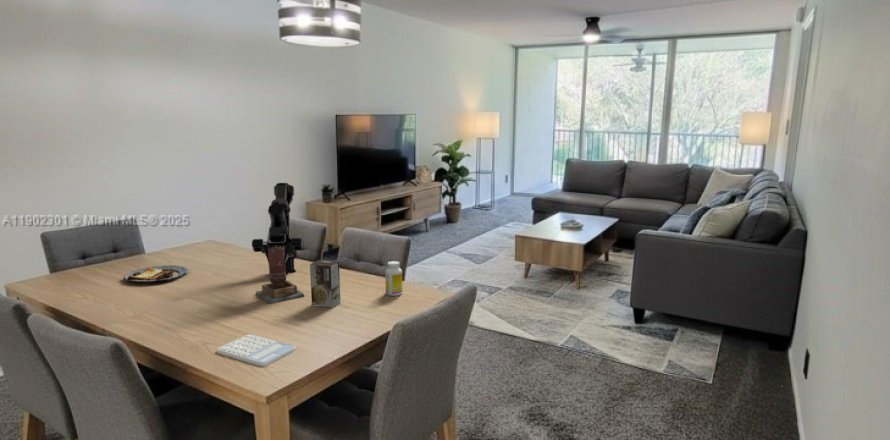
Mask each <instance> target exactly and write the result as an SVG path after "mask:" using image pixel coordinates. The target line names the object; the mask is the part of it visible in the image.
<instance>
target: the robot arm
mask: <svg viewBox="0 0 890 440" xmlns="http://www.w3.org/2000/svg"><path fill="white" fill-rule="evenodd" d="M273 195H274V197H275V198H274V199H273V200H272V201H271V203H270V205H269V207H268V209H267V210H268V211H267V212H268V215H269V218H270V223H271V226H270V227H269V229H268V230H269V232H268V233H269V235H268V239H269V241H267V240H265V241H264V238H253V239H252V240H251V246H252V251H253V252H254V253H260V252H261V253H262V254H264V256H265V257H266V259H267V263H268V264H269V257H268V249H269V247H270V246H275V245H281V246H284V248H285V260H284V264H285V265H286V274H289V273H294V272H297V270H296V269H295V259H297V258H298V254H297V253H298V252H297V251H303V249H304V248H303V247H304V246H303V238H302V237H291V236H290V235H291V232H290V231H291V230H290V227H291V226H290V224H291V223H290V214H291V213H290V212H291V207H290V206H291V204H292V202H293V200H294V196H295V188H294V186H293V185H291V184H289V183H288V182H277V183H275V186H274V185H273Z"/></svg>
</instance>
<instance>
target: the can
mask: <svg viewBox="0 0 890 440" xmlns="http://www.w3.org/2000/svg"><path fill="white" fill-rule="evenodd" d="M268 257H269V263H268V271H269V281H270V282H269V283H274V284H279V283H283V282H285V281H286V280H287V273H286V265H285V264H284V260H285V248H284V246H281V245H275V246H270V247H269V249H268Z"/></svg>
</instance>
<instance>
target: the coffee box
mask: <svg viewBox="0 0 890 440" xmlns="http://www.w3.org/2000/svg"><path fill="white" fill-rule="evenodd" d="M309 273H310V276H309V277H310V291H311V292H310V294H311V306H315V307H324V308H331V309H332V308H335V307H336V306H339V304H341V283H340V281H341V280H340V279H341V278H340V276H341V275H340V261H333V260H322V259H321V260H320V259H318V260H316V261H313V262H311V263H310V264H309Z"/></svg>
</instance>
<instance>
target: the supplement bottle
mask: <svg viewBox="0 0 890 440" xmlns="http://www.w3.org/2000/svg"><path fill="white" fill-rule="evenodd" d="M384 273H385V276H384V277H385V282H384V283H385V294H386V295H387V296H391V297H394V296H395V297H396V296H401V295H402V293H403V270H402V268H400V261H396V260H391V261H388V262H387V268H386V269H385V272H384Z"/></svg>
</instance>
